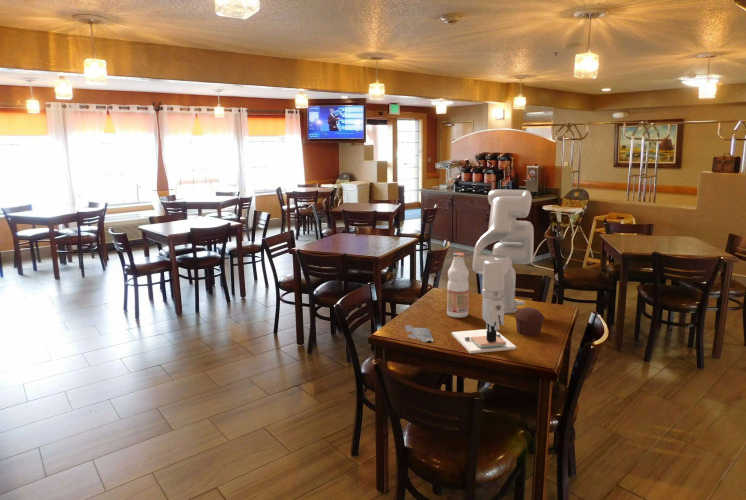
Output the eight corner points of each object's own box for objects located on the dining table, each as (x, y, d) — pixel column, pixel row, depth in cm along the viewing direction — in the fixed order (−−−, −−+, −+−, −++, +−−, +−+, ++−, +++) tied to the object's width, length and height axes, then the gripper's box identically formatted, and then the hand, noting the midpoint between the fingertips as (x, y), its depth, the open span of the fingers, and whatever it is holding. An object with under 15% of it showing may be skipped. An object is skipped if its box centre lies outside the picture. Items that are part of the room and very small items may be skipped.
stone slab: (403, 325, 219) (427, 323, 219) (403, 329, 219) (427, 327, 220) (409, 342, 201) (434, 339, 202) (409, 346, 202) (435, 344, 202)
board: (493, 330, 213) (493, 325, 213) (516, 349, 194) (516, 343, 193) (451, 334, 210) (451, 329, 209) (470, 353, 190) (470, 347, 190)
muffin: (508, 330, 214) (509, 306, 212) (530, 326, 218) (531, 303, 216) (527, 339, 203) (528, 314, 201) (550, 335, 208) (551, 311, 206)
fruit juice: (443, 316, 232) (444, 254, 227) (451, 310, 240) (452, 250, 235) (463, 319, 228) (464, 256, 222) (471, 313, 235) (472, 252, 230)
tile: (506, 342, 193) (506, 345, 193) (495, 334, 202) (495, 337, 202) (480, 344, 191) (480, 347, 191) (470, 337, 200) (470, 340, 200)
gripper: (511, 298, 183) (509, 347, 187) (493, 287, 198) (492, 333, 202) (491, 300, 182) (490, 349, 186) (475, 288, 196) (474, 334, 200)
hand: (491, 340), depth 194 cm, fingers closed
